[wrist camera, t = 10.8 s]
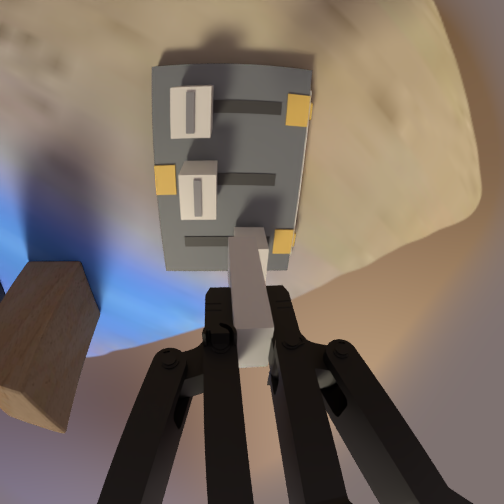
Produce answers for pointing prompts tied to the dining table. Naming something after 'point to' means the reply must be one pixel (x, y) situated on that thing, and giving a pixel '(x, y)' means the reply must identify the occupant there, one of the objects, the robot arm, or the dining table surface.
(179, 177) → the slider
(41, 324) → the wooden block
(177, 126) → the slider
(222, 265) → the console
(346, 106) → the dining table surface
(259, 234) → the slider
